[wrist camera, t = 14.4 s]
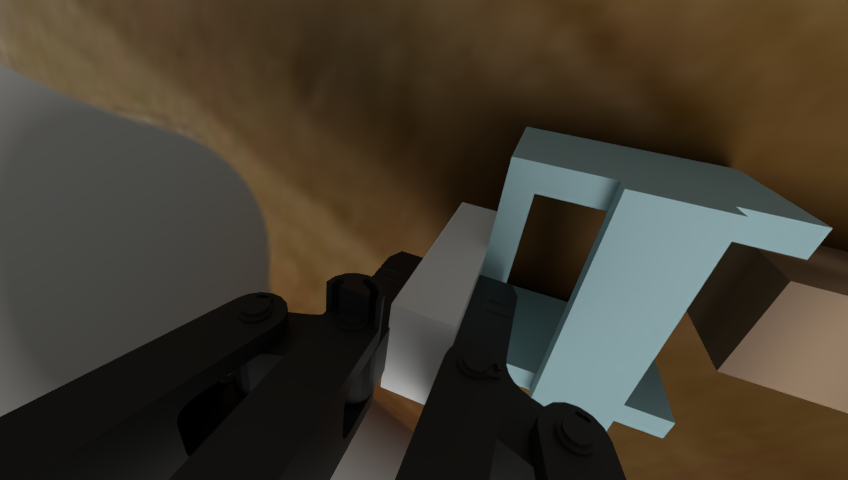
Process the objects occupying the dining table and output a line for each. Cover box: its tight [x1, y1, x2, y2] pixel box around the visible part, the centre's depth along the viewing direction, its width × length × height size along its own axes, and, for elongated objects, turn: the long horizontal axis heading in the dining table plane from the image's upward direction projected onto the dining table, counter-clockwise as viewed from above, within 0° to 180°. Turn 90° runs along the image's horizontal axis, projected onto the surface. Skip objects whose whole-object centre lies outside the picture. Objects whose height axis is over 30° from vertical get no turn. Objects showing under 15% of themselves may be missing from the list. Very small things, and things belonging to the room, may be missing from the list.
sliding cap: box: [481, 127, 833, 438], centre depth 12 cm, size 7×8×5 cm
